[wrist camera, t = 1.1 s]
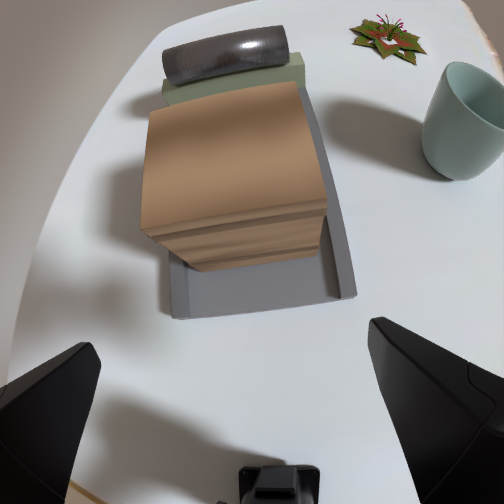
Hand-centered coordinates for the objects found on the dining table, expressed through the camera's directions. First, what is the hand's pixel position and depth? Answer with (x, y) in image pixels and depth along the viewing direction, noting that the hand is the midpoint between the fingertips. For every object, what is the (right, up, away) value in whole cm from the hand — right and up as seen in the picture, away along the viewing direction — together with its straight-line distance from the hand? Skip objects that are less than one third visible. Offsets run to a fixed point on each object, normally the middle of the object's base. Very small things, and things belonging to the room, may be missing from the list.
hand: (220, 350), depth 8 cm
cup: (+20, +12, +16) cm, 29 cm away
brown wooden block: (+1, +6, +16) cm, 17 cm away
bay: (+1, +9, +18) cm, 20 cm away
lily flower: (+20, +32, +22) cm, 44 cm away
